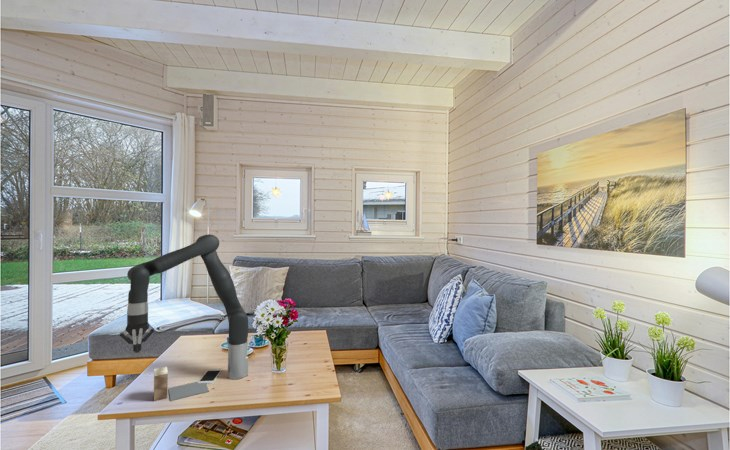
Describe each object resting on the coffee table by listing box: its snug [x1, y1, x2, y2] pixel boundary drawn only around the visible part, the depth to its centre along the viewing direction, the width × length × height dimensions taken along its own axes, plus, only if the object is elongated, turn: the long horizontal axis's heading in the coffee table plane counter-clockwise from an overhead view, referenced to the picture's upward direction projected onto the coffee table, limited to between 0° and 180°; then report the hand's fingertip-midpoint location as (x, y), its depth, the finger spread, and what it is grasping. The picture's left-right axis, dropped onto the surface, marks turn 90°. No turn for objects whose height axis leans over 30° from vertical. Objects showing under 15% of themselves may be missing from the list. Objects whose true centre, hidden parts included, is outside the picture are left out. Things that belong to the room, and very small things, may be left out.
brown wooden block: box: [153, 366, 169, 402], centre depth 150 cm, size 5×6×12 cm
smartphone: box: [197, 368, 223, 385], centre depth 171 cm, size 7×16×1 cm, turn 7°
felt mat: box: [168, 380, 210, 402], centre depth 156 cm, size 16×13×1 cm
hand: (137, 352), depth 145 cm, fingers closed
